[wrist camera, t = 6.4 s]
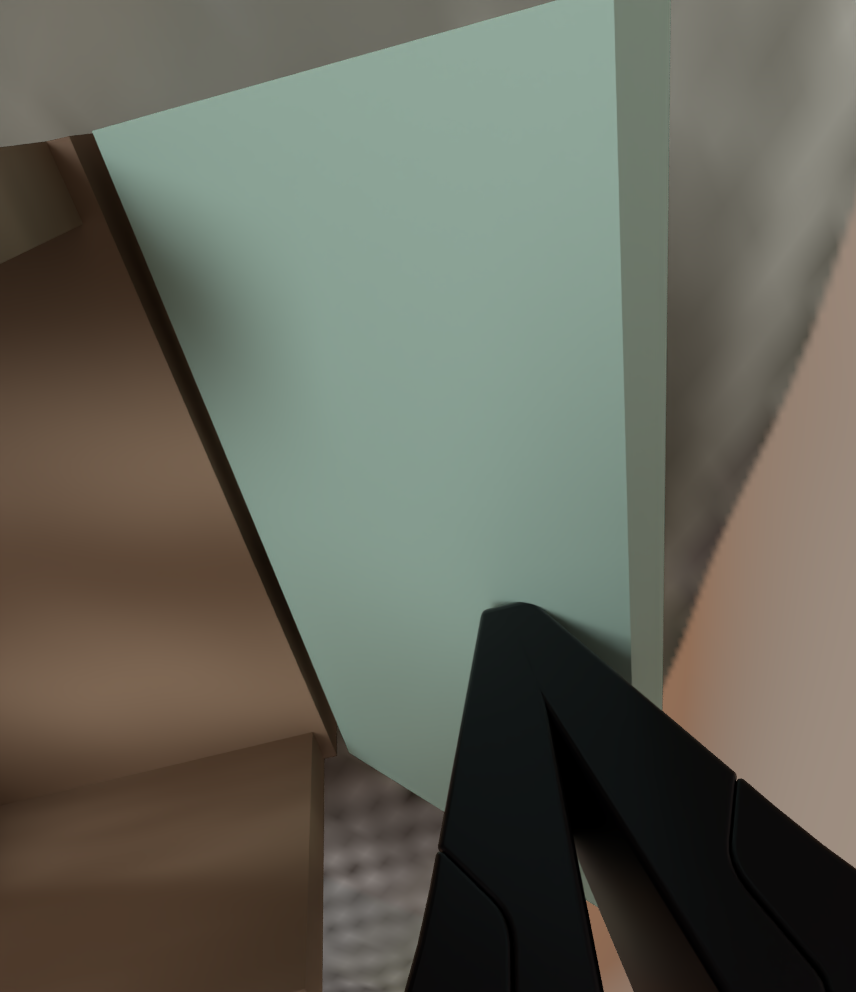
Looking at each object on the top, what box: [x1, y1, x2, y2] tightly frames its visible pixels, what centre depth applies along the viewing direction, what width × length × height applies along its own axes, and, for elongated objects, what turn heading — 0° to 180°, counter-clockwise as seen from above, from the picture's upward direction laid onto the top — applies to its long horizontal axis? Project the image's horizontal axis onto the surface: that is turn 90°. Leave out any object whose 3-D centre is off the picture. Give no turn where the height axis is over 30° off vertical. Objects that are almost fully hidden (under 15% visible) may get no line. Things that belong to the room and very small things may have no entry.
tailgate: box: [92, 0, 671, 907], centre depth 10 cm, size 13×1×7 cm
